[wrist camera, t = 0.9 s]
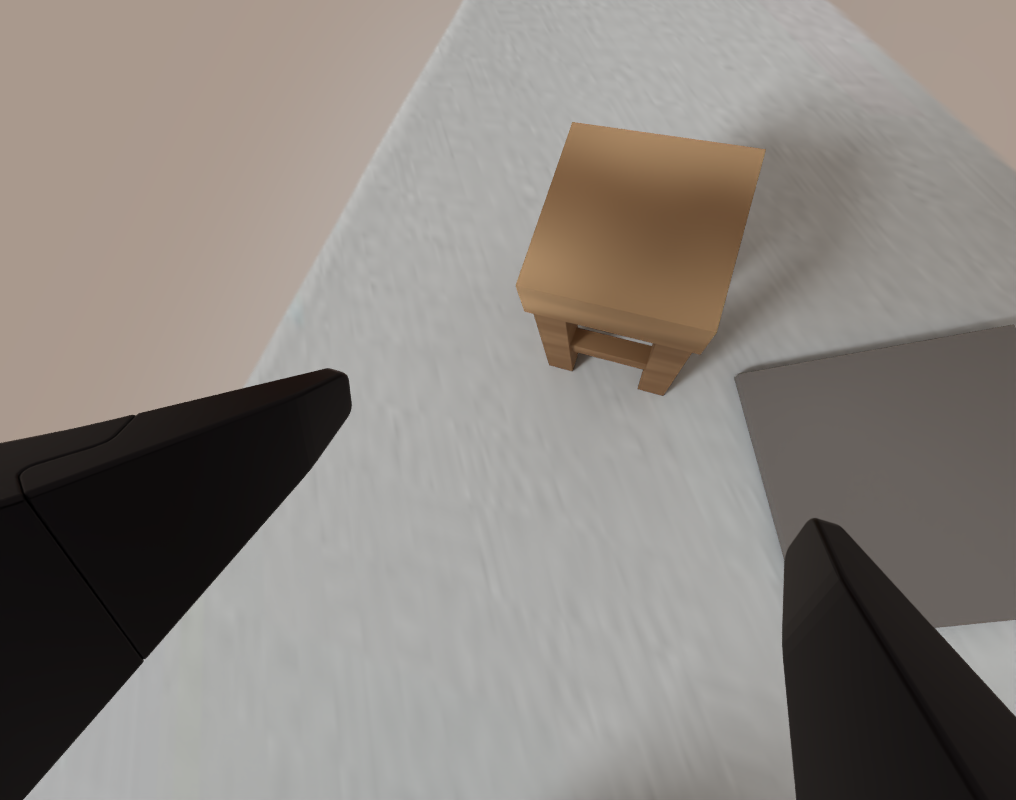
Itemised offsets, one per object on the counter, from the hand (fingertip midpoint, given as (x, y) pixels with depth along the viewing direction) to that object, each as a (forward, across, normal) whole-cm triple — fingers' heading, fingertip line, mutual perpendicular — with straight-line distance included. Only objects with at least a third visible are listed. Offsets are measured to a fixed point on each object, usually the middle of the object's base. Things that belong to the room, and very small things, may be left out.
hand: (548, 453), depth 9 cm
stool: (+15, 0, +4) cm, 15 cm away
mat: (+12, -13, +6) cm, 19 cm away
